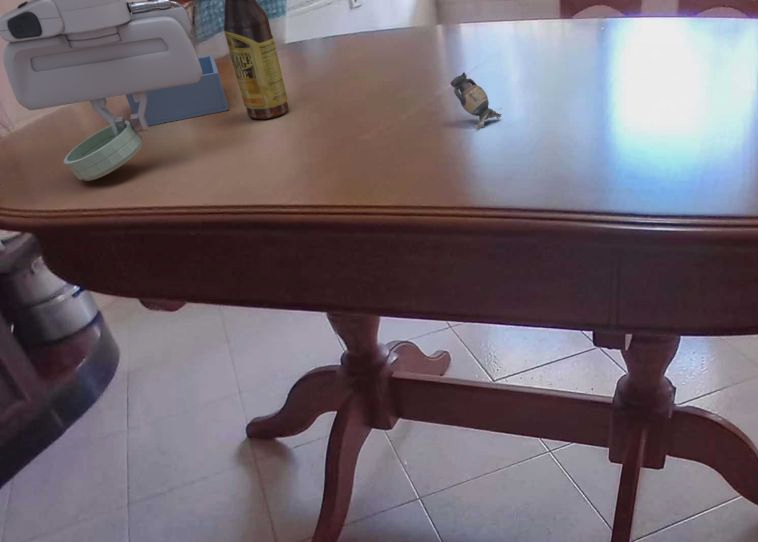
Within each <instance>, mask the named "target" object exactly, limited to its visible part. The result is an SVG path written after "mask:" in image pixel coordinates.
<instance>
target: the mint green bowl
mask: <svg viewBox="0 0 758 542" xmlns="http://www.w3.org/2000/svg"><path fill="white" fill-rule="evenodd" d="M125 125H126V127H125V129H124V130H123V131H122V132H121V133H120V134H119V135H118V136H115V135H114V132H113V130H112V127H111V125H108V126H106V127H104V128H101V129H100V130H98V131H96V132H94V133H92V134H91V135H89V137H87V138H85V139H83V140H82V142H80V143H79V144H76V146H75V147H74V148H72V149H71V150H70V151H69V152H68V153H67V154H66V156H65V157H64V158H63V164H64V165H65V166H66V167H67V168H68V170H70V171H71V172H72V174H73V175H74V177H76V178H77V179H78V180H83V181H85V182H90V181H94V180H97V179H100V178H103V177H104V176H106V175H108V174H110V173H112V172H114V171H116V170H118V168H120V167H122V166H123V165H125V164H126V163H127V162H129V160H131V159H132V158H133V157H134V156H136V154H137V153H138V152H139V151H140V150H141V148H142V146H143V143H142V142H143V137H142V135H141V134H140V132H135V130H134V125H133V124H132V122H131V121H129V120H125Z"/></svg>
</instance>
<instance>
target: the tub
mask: <svg viewBox="0 0 758 542" xmlns="http://www.w3.org/2000/svg"><path fill="white" fill-rule="evenodd" d="M198 60H199V62H200V65H201V69H202V76H201V78H200V80H199V81H198V82H197V83H191V84H185V85H179V86H173V87H168V88H162V89H156V90H150V91H146V94H147V103H146V108H145V113H144V117H145V119H146V122H147V125H148V127H151V126H156V125H160V124H161V125H162V124H166V123H171V122H170V121H172V122H177V121H182V120H187V119H192V118H196V117H201V116H206V115H212V114H216V113H223V112H227V110H228V111H230V106H229V103H228V100H227V97H226V93H225V88H224V86H223V82H222V80H221V76H220V73H219V70H218V67H217V63H216V60H215V57H214V54H211V55H205V56H199V57H198ZM125 97H126V101H127V103H128V105H129V107H130V111H131V113H132V115H133V114H137V113H138V108H139V103H140V101H139V102H134V99H133V96H132V94H126V95H125ZM176 120H177V121H176ZM165 122H166V123H165Z"/></svg>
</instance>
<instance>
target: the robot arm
mask: <svg viewBox="0 0 758 542" xmlns="http://www.w3.org/2000/svg"><path fill="white" fill-rule="evenodd" d="M172 6H174V7H172ZM192 31H193V27H192V23H191V19H190V16H189V13H188V11H187V9H186V8H185V6H183V5H182V4H181V3H180V2H177V1H175V0H141V1H140V0H138V1H131V2H128V1H127V0H29V1H24V2H21V3H20V4H19V5H18V6H17V7H16V8H13V9H11V10H10V11H7V12H6V13H4V14H2V16H1V17H0V38H1V39H2V40H3V41H5V42H7V44H6V45H5V47H4V48H3V51H2V61H3V65H4V70H5V73H6V75H7V76H6V77H7V79H8V82H9V84H10V88H11V90H12V92H13V94H14V98H15V99H16V101H17V103H18V104H19V105H20V106H22V107H23V108H25V109H27V110H28V111H36V110H42V109H49V108H53V107H55V108H56V107H60V106H66V105H72V104H78V103H84V102H89V101H90V104H91V106H92V109H93V111H94V112H95V113H96V114H98V115H99V116H100V117H101V118H103V119H104V120H105V121H106V122H107V123H109V124H110V125H111V127H112V130H113V132H114V135H115V136H118V135H119V134H120V133H121V132H122V131H123V130H124V129H125V127H126V125H125V121H126V120H125V118H124V115H122V116H116V115H114V113H112V112H111V110H109V109H108V108H107V105H108V104H107V103H108V102H107V99H108V98H114V97H120V96H124V95H125V96H126V94H132V96H133V99H134V102H139V101H140V103H139V108H138V113H137V114H133V113H132V114H130V116H129V120H130V123H131V124H132V125H133V127H134V130H135V132H138V133H140V132H147V131H149V126H148V125H147V122H146V119H145V117H144V113H145V108H146V103H147V94H146V91H150V90H156V89H162V88H168V87H173V86H179V85H185V84H191V83H197V82H198V81H199V80H200V78H201V76H202V69H201V65H200V62H199V60H198V58H199V57H198V54H197V52H196V49H195V47H194V45H193V42H192V40H191V38H190V37H191V35H192ZM110 125H109V126H110Z"/></svg>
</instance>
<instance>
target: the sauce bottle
mask: <svg viewBox="0 0 758 542" xmlns="http://www.w3.org/2000/svg"><path fill="white" fill-rule="evenodd" d="M223 17H224V20H223V32H224V36H225V37H224V38H225V41H226V44H227V47H228V50H229V55H230V59H231V63H232V66H233V69H234V74H235V77H236V80H237V84H238V87H239V92H240V94H241V98H242V102H243V105H244V107H245V110H246V112H247V115H248V117H250V118H251V119H257V120H268V119H272V118H276V117H279V116H282V115H284V114H286V113H287V112H289V109H290V108H289V103H288V100H289V99H288V94H287V89H286V86H285V82H284V78H283V73H282V69H281V64H280V60H279V56H278V51H277V47H276V42H275V39H274V36H273V34H272V29H271V24H270V20H269V17H268V15H267V13H266V11H265V10H264V9H263V7H262V6H261V5H260V4H259V3H258V1H257V0H224V16H223Z"/></svg>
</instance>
